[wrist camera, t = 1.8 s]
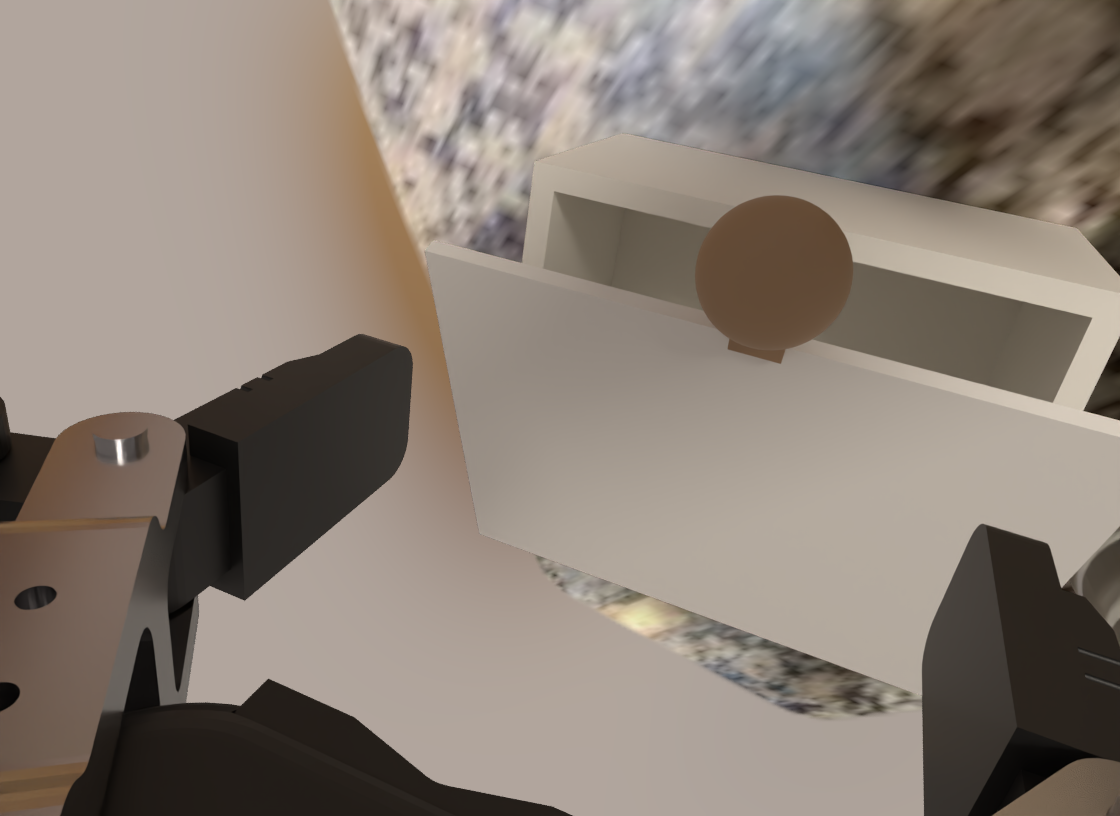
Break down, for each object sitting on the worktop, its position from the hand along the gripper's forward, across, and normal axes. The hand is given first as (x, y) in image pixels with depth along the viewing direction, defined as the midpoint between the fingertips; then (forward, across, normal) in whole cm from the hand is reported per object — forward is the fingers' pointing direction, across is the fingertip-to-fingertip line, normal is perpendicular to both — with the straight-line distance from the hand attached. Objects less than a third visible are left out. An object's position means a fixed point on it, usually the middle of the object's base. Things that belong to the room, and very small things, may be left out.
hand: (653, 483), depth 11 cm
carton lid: (+18, 0, +8) cm, 19 cm away
